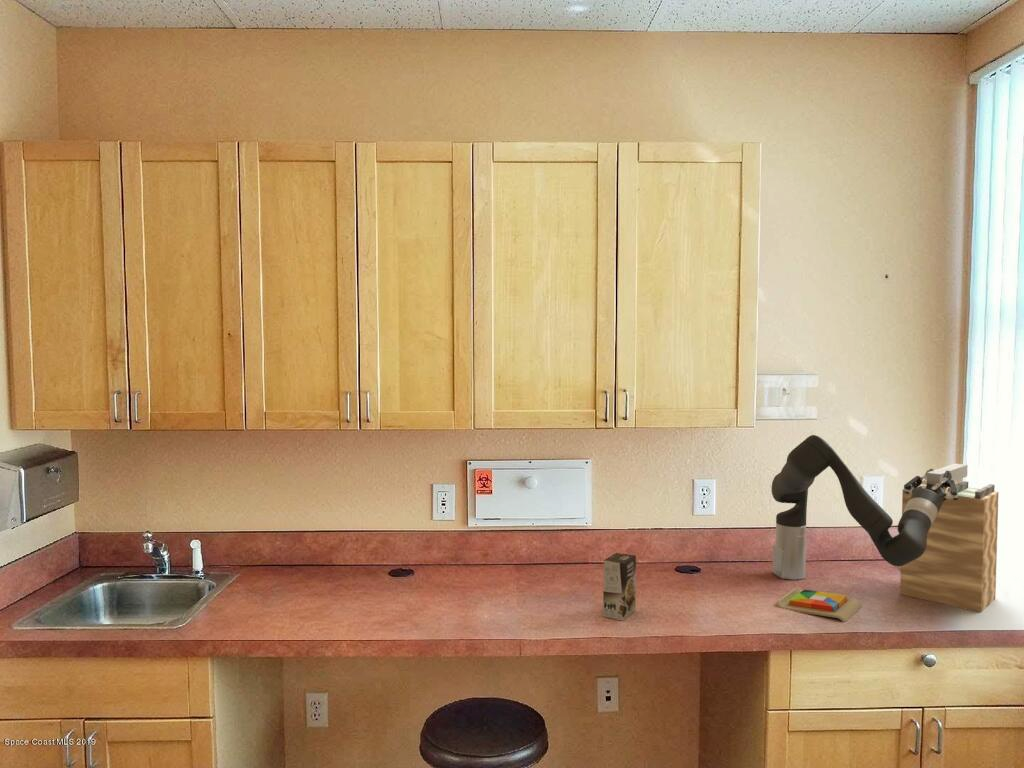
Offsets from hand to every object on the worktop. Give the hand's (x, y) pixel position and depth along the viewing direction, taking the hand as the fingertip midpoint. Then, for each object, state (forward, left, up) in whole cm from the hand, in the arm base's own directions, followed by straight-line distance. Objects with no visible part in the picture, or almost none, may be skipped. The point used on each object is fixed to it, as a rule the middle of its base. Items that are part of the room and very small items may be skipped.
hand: (940, 472), depth 202 cm
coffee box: (-92, +7, -39) cm, 100 cm away
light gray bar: (+6, +4, -3) cm, 8 cm away
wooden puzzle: (-33, +5, -40) cm, 52 cm away
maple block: (+10, +8, -39) cm, 41 cm away
